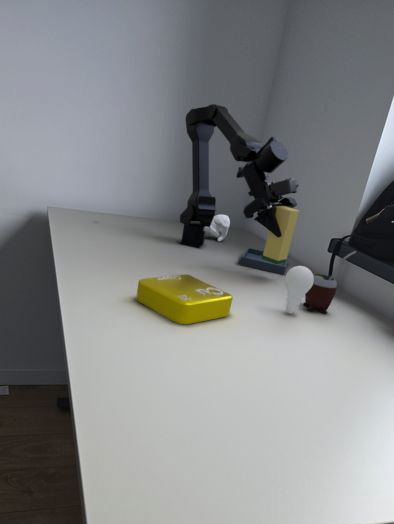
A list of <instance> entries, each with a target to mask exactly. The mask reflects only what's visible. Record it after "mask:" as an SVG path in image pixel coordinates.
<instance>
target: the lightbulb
mask: <svg viewBox="0 0 394 524" xmlns="http://www.w3.org/2000/svg"><path fill="white" fill-rule="evenodd" d="M313 274H314V273H313V272H312V271H311V269H310V268H308V267H307V266H304V265H295V266H293V267H291V268H290V269H289V270H288V271H287V273H286V274H285V279H284V282H285V288H286V293H287V294H286V305H285V311H286V312H287V313H288V314H290V315H293V314H296V313H297V312H298V308H299V306H300V305H301V303H302V300H303V298H304V297H305V294H306V293H307V292H308V291H309V290H310V288H311V287H312V285H313V282H314V277H313Z"/></svg>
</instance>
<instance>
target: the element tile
mask: <svg viewBox="0 0 394 524" xmlns="http://www.w3.org/2000/svg"><path fill="white" fill-rule="evenodd" d="M135 297H136V301H137V302H138V303H140V304H141V305H143V306H145V307H147V308H149V309H151V310H153V312H156V313H157V314H160V315H161V316H163V317H164V318H167V319H169V321H172V322H173V323H176V324H179V325H191V324H196V323H197V324H198V323H201V322H205V321H206V322H207V321H210V320H211V321H212V320H216V319H221V318H226V317H228V316H229V315H230V313H231V308H232V303H233V302H232V301H233V295H232V294H231V293H229V292H227V291H224V290H222V289H220V288H218V287H216V286H214V285H211V284H210V283H207V282H205V281H203V280H201V279H198V278H196V277H194V276H192V275H190V274H178V275H167V276H158V277H149V278H147V277H146V278H141V279H139V280H138V283H137V290H136V296H135Z"/></svg>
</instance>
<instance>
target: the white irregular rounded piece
mask: <svg viewBox="0 0 394 524" xmlns="http://www.w3.org/2000/svg"><path fill="white" fill-rule="evenodd" d="M230 226H231V220H230V217H229V215H227V214H215V216H214V218H213V220H212V223H211V225H210V227H207V226H205V231H206V234H208V235H212V236H214V237H216V238H217V240H216V241H217V242H222V241H223V240H224V239H225V238H226V237H227V234H228V231H229V229H230Z"/></svg>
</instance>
